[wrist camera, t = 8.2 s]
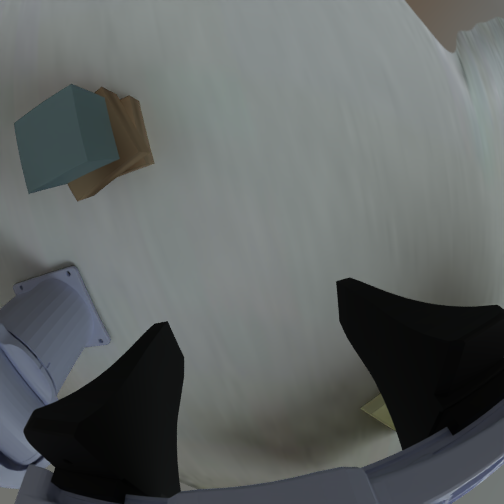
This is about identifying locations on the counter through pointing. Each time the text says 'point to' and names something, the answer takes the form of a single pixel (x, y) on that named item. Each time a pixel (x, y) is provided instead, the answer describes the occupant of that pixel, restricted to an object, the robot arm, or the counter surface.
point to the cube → (65, 138)
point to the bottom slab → (136, 116)
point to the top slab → (127, 146)
